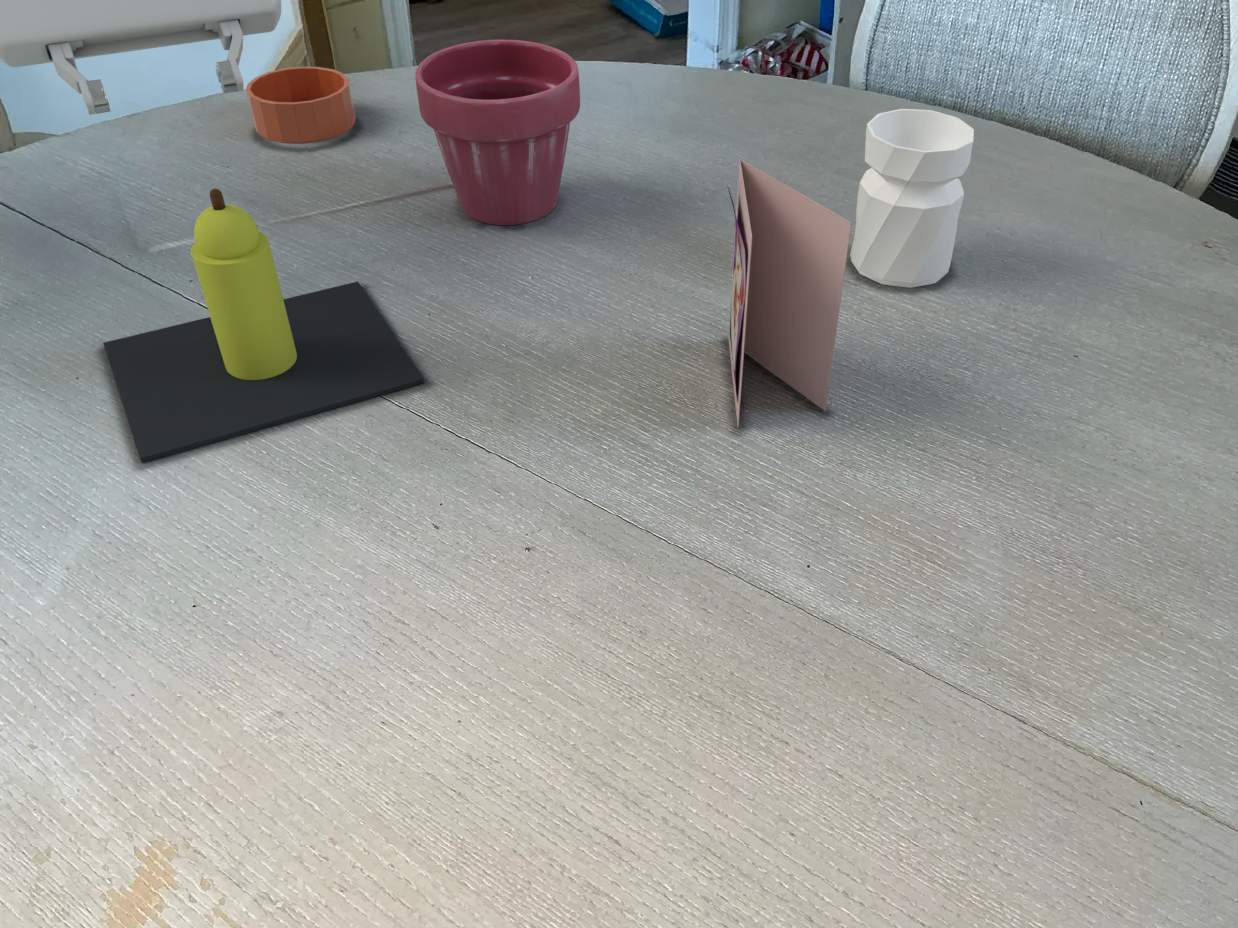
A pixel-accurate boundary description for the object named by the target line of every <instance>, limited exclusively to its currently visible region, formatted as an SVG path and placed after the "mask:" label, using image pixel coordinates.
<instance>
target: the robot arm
mask: <svg viewBox="0 0 1238 928" xmlns="http://www.w3.org/2000/svg"><path fill="white" fill-rule="evenodd" d="M281 15H282V0H0V61H1V62H3V63H4V64H5V65H7V66H8V67H11V68H21V67H27V66H34V65H42V64H49V63H53V66H54V68H55V71H56V74H57V76H58V77H59V78H61V79H62V80H63V81H64V82H65V83H66V84H67V85H69V86H70V87H71V88H72V89H74V90H75V92H77V93H78V94H79V95H81V96H82V99H83V102H84V104H85V108H86V111H87V113H88V115H89V116H90V115H91V116H92V115H98V114H103V113H105V114H106V113H111V112H112V111H111V108H110V103H109V99H108V97H107V94H106V93H105V88H104V86H103V83H102V80H101V79H92V80H89V79H88V78H87V77H85V76H84V75H83V74H82V73H81V72H80V71H79V70H78V65H77V63H76V60H77V59H79V60H80V59H87V58H93V57H101V56H107V55H108V56H109V55H115V54H121V53H129V52H136V51H142V50H150V49H156V48H164V47H170V46H171V47H172V46H178V45H185V44H192V43H194V44H195V43H201V42H206V41H214V40H220V43H221V45H222V48H223V50H224V51H228V53H227V58H226V60H221V61H215V73H216V74H215V75H216V77H217V80H218V83H220V88H221V91H222V93H223V94H230V93H238V92H243V91H244V80H243V75H242V73H241V70H240V67H239V65H240V62H241V57H242V52H243V49H244V36H249V35H250V36H251V35H257V34H258V35H259V34H265V33H271V32H273V31H275V30H276V28H277V26H278V23H279V22H280V19H281Z"/></svg>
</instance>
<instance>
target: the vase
mask: <svg viewBox="0 0 1238 928" xmlns="http://www.w3.org/2000/svg"><path fill="white" fill-rule="evenodd" d="M974 133H975V130H974V128H973V127H972V126H970V125H969V124H968V123H966V122H965V121H963V119H961V118H959V117H957V116H954V115H949V114H947V113H943V112H939V111H936V110H932V109H917V108H916V109H914V108H899V109H894V110H889V111H885V112H884V111H883V112H879V113H877V114H876V115H875V116H873V118H871V119H870V120H869V121H868V122H867V123H866V131H865V144H864V145H865V146H864V147H865V149H864V163H866V164H867V165H868V166H869V167H870V168H868V169H866V170H865V172H864V174H863V176H862V178H861V179H860V181H859V185H858V190H857V191H858V192H857V199H856V211H855V228H854V236H853V241H852V244H851V249H850V254H849V256H850V261H851V263H852V265H853V266H854V268H855V269H856V270H857V271H858V273H859V275H861V276H864V277H866V278H868V279H870V280H872V281H874V282H877V283H878V284H880V285H885V286H891V287H892V286H893V287H899V288H909V289H911V288H918V287H923V286H929V285H934V284H936V283H937V282H939V281H940V280H941V279H942V278H943V277H945V276H946V275H947V274H948V273H949V271H950V267H951V262H952V257H953V253H954V247H955V243H956V235H957V228H958V220H959V216H960V213H961V209H962V205H963V202H964V201H963V200H964V197H965V191H964V188H963V185H962V182H961V180H960V179H959V178H960V177H962V176H964V174H965V172H966V171H967V169H968V167H969V166H970V164H971V159H972V150H973V144H974V137H975V135H974Z"/></svg>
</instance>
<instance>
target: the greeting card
mask: <svg viewBox="0 0 1238 928" xmlns="http://www.w3.org/2000/svg"><path fill="white" fill-rule="evenodd" d="M737 176H738V179H737V196H736V208H735V205H734V200H733V197H732V194H731V190H730V188H729V186H728V185H727V190H728V193H729V198H730V202H731V205H732V209H733V213H734V219H735V222H734V223H735V227H734V242H733V243H734V245H733V261H732V275H731V277H732V278H731V294H730V295H731V296H730V307H729V308H730V309H729V327H728V347H729V348H728V349H729V357H730V366H731V367H730V368H731V374H732V385H733V395H734V404H735V413H736V424H737V429H739V425H740V411H741V400H742V399H741V398H742V387H743V386H742V385H743V372H744V371H743V370H744V357H745V354H747V355H748V356H749V357H751V358H752V359H754V360H755V361H756V362H758V363H759V364H761V365H762V366H763V367H765V368H766V369H767V370H769V371H770V372H771V373H772V374H774V375H775V376H777V377H778V378H780V379H781V380H782V381H783V382H784V383H786V384H787V385H789V387H791V388H793V389H794V390H796V391H797V392H799V393H800V394H801V395H803V396H804V397H805V398H807V399H808V400H809V401H811V402H812V403H814V404H815V405H816V406H817V407H819V408H820V409H821V410H823V411H824V412H826V411H827V403H828V397H829V389H830V383H831V376H832V375H831V374H832V368H833V361H834V353H835V345H836V339H837V331H838V323H839V318H840V309H841V301H842V296H843V295H842V294H843V287H844V280H845V273H846V266H847V258H848V251H849V244H850V237H851V229H852V222H851V221H850V220H848V219H847V218H845V217H842V216H841V215H839V214H838V213H836V212H834V211H832V210H831V209H829V208H827V207H825V206H823V205H821V204H820V203H819V202H816V201H814V200H813V199H811V198H809V197H808V196H806V195H804V194H802V193H800V192H799V191H797V190H796V189H793V188H792V187H790V186H789V185H787V184H785V183H783V182H782V181H780V180H778V179H776V178H775V177H773V176H771V175H769V174H768V173H766V172H764V171H762V170H760V169H759V168H757V167H756V166H753V165H751V164H750V163H748V162H746V161H744V160H743V159H741V158H739V161H738V175H737ZM735 209H736V210H735Z"/></svg>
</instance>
